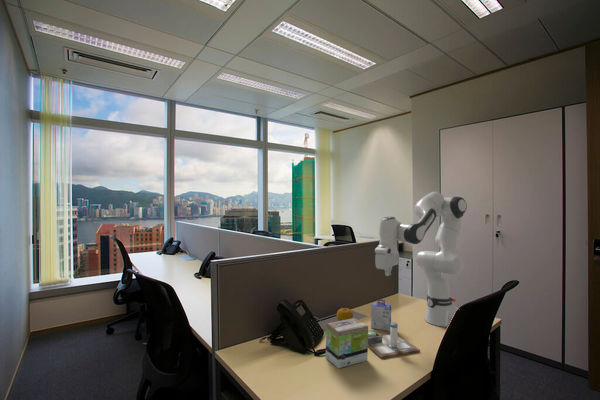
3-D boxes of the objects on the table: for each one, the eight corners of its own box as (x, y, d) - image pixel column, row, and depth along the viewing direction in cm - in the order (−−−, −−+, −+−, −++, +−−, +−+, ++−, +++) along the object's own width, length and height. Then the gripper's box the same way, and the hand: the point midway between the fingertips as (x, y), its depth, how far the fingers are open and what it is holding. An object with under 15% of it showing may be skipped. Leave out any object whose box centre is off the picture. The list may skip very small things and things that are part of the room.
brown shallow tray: (394, 334, 144) (394, 326, 144) (419, 352, 127) (419, 342, 127) (359, 339, 138) (359, 331, 138) (380, 358, 121) (380, 349, 121)
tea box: (338, 370, 112) (339, 332, 113) (325, 357, 121) (325, 322, 122) (368, 360, 119) (368, 325, 120) (353, 349, 128) (353, 316, 129)
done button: (372, 336, 138) (372, 330, 138) (377, 341, 134) (377, 334, 134) (364, 338, 137) (364, 331, 137) (369, 342, 133) (369, 335, 133)
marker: (394, 345, 131) (394, 322, 131) (398, 348, 128) (399, 324, 128) (388, 346, 130) (388, 322, 130) (393, 349, 127) (393, 325, 127)
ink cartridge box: (391, 327, 153) (391, 300, 153) (390, 331, 147) (390, 303, 148) (372, 324, 156) (372, 297, 157) (370, 328, 151) (370, 300, 152)
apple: (341, 329, 149) (342, 312, 150) (333, 323, 158) (333, 306, 158) (356, 326, 153) (356, 309, 153) (346, 320, 161) (347, 304, 162)
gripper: (391, 245, 157) (391, 271, 157) (373, 249, 142) (372, 277, 142) (402, 247, 153) (402, 273, 152) (384, 251, 138) (384, 280, 137)
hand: (388, 275), depth 147 cm, fingers closed
